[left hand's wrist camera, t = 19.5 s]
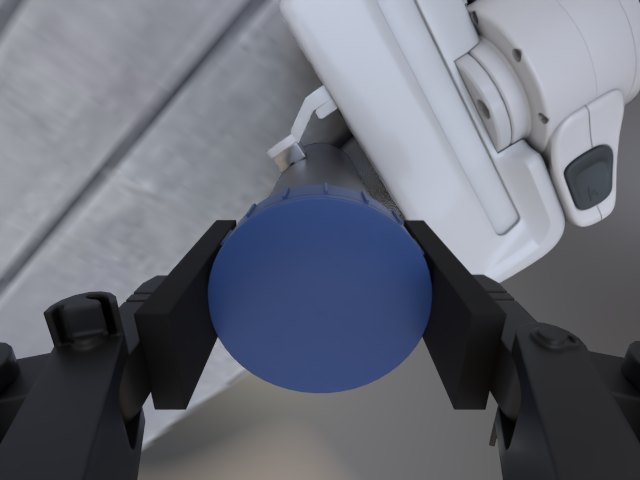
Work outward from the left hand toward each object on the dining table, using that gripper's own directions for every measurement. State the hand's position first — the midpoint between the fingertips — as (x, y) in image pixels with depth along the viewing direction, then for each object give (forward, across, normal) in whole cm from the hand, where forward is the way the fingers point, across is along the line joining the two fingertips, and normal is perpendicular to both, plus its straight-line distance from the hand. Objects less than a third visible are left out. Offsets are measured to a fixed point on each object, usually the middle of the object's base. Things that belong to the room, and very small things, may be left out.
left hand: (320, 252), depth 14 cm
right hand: (+8, -1, 0) cm, 8 cm away
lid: (-4, 0, 0) cm, 4 cm away
